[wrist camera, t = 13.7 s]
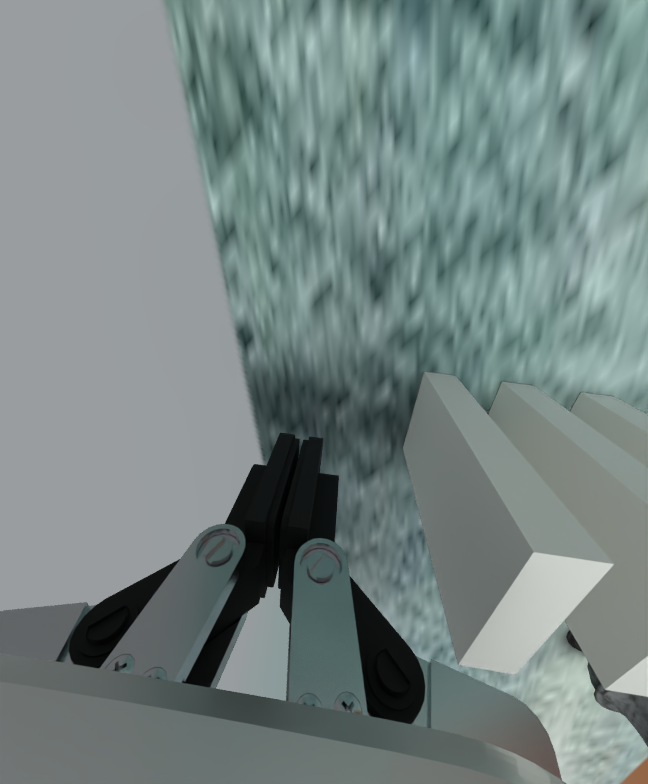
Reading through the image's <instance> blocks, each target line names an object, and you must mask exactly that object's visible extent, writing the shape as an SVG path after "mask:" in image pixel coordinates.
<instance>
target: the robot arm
mask: <svg viewBox="0 0 648 784" xmlns="http://www.w3.org/2000/svg"><path fill="white" fill-rule="evenodd" d="M299 442H300V440H299V439H295V435H294V434H286V433H280V435H279V437H278V439H277V442H276V444H275V447H274V449H273V451H272V454H271V456H270V459H269V461H268V464H267V466H265V465H258V464H254V465H253V467H252V468H251V470H250V473H249V475H248V477H247V479H246V481H245V483H244V485H243V487H242V489H241V491H240V493H239V496H238V498H237V500H236V502H235V504H234V506H233V508H232V510H231V512H230V514H229V516H228V518H227V520H226V523H225V524H220V525H215V526H212V527H210V528H208V529H206V530H205V531H203V532H202V533H200V534H199V536H198V537H197V538H196V539H195V540H194V541H193V543H192V544H191V545H190V547H189V548H188V549H187V551H186V552H185V553H184V555H183V556H182V557H181V559H179V560H178V561H176V562H174V563H172V564H170V565H168V566H166V567H164V568H163V569H161V570H159V571H157V572H155V573H153V574H151V575H150V576H148V577H146V578H144V579H142V580H140V581H138V582H136V583H134V584H133V585H131V586H129V587H127V588H125V589H123V590H121V591H119V592H118V593H116V594H114V595H112V596H110V597H108V598H106V599H105V600H103V601H102V602H100V603H99V604H97V605H94V606H89V605H88V603H87V602H85V603H76V604H65V605H55V606H44V607H34V608H25V609H15V610H4V611H0V784H566V783H565V782H563V781H562V779H561V775H560V771H559V767H558V763H557V759H556V755H555V751H554V748H553V746H552V743H551V741H550V738H549V735H548V733H547V731H546V730H545V728H544V727H543V725H542V723H541V722H540V720H539V719H538V717H537V716H536V715H535V714H534V713H533V712H532V711H531V710H530V709H529V708H528V706H527V705H526V704H524V703H523V702H521V701H520V700H518V699H517V698H515V697H514V696H511V695H509V694H507V693H505V692H503V691H500V690H498V689H496V688H494V687H492V686H489V685H487V684H485V683H483V682H481V681H478V680H476V679H474V678H472V677H470V676H467V675H465V674H463V673H461V672H459V671H456V670H454V669H452V668H450V667H448V666H445V665H443V664H441V663H439V662H437V661H434V660H432V659H431V661H430V662H427V661H425V660H423V659H421V658H419V657H416V656H415V654H414V653H413V651H412V650H411V648H410V647H409V646H408V645H407V644H406V642H405V641H404V640H403V639H402V638H401V636H400V635H399V634H398V633H397V632H396V631H395V629H394V628H393V627H392V626H391V625H390V623H389V622H388V621H387V620H386V619H385V617H384V616H383V615H382V614H381V613H380V611H379V610H378V609H377V608H376V607H375V605H374V604H373V603H372V602H371V601H370V600H369V598H368V597H367V596H366V595H365V594H364V592H363V591H362V590H361V589H360V588H359V586H358V585H357V584H356V583H355V582H354V580H353V579H352V578H351V577H350V576H349V568H348V562H347V558H346V555H345V553H344V552H343V550H342V549H341V547H340V546H338V545H337V544H336V543H335V527H336V512H337V497H338V482H339V476H337V475H329V474H322V473H320V465H321V456H322V447H323V438H316V437H309V440H303V443H302V447H301V451H300V454H299ZM298 457H299V458H298ZM278 567H279V579H278V588H279V589H281V594H280V608H281V609H282V611H283V613H284V615H285V616H286V618H287V620H288V622H289V623H290V627H289V649H288V672H287V692H286V693H287V695H286V701H282V700H277V699H271V698H266V697H260V696H254V695H249V694H242V693H237V692H231V691H226V690H220V689H216V687H217V684H218V682H219V680H220V678H221V675H222V673H223V671H224V668H225V666H226V664H227V661H228V659H229V657H230V654H231V652H232V650H233V648H234V645H235V643H236V641H237V638H238V636H239V634H240V631H241V629H242V627H243V625H244V622H245V620H246V617H247V613H248V611H249V610H250V609H252V608H253V607H254V606H256V605H257V604H258V603H259V600H260V597H261V598H265V594H266V590H267V587H273V586H274V583H275V579H276V574H277V571H278Z"/></svg>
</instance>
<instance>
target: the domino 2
mask: <svg viewBox="0 0 648 784" xmlns="http://www.w3.org/2000/svg"><path fill="white" fill-rule="evenodd" d="M488 415H489V416H490V418H491V419H492V420H493V421H494V422H495V423H496V425H497V426H498V427H499V428H500V429H501V431H502V432H503V433H504V434H505V435H506V436H507V438H508V439H509V440H510V441H511V442H512V444H513V445H514V446H515V447H516V448H517V450H518V451H519V452H520V453H521V454H522V455H523V457H524V458H525V459H526V460H527V461H528V463H529V464H530V465H531V466H532V467H533V468H534V470H535V471H536V472H537V473H538V474H539V476H540V477H541V478H542V479H543V480H544V482H545V483H546V484H547V485H548V486H549V487H550V489H551V490H552V491H553V492H554V493H555V495H556V496H557V497H558V498H559V499H560V501H561V502H562V503H563V504H564V505H565V506H566V508H567V509H568V510H569V511H570V512H571V514H572V515H573V516H574V517H575V518H576V519H577V521H578V522H579V523H580V524H581V525H582V527H583V528H584V529H585V530H586V531H587V533H588V534H589V535H590V536H591V537H592V538H593V540H594V541H595V542H596V543H597V544H598V546H599V547H600V548H601V549H602V550H603V551H604V553H605V554H606V555H607V556H608V557H609V559H610V560H611V561H612V562H613V563H614V565H613V566H612V567H611V568H610V570H609V571H608V572H607V573H606V574H605V575H604V576H603V577H602V578H601V580H600V581H599V582H598V583H597V584H596V585H595V586H594V587H593V589H592V590H591V591H590V592H589V593H588V594H587V595H586V596H585V597H584V599H583V600H582V601H581V602H580V603H579V604H578V605H577V606H576V608H575V609H574V610H573V611H572V612H571V613H570V614H569V615H568V616H567V618H566V619H565V622H566V624H567V625H568V627H569V629H570V631H571V632H572V634H573V636H574V638H575V639H576V641H577V643H578V644H579V646H580V648H581V650H582V651H583V653H584V655H585V656H586V658H587V660H588V662H589V663H590V665H591V667H592V669H593V670H594V672H595V674H596V675H597V677H598V679H599V681H600V682H601V684H602V686H603V687H604V689H605V690H610V691H616V692H622V693H628V694H634V695H640V696H646V697H648V468H647V467H646V466H645V465H643V464H642V463H640V462H639V461H638V460H636V459H635V458H634V457H632V456H631V455H629V454H628V453H627V452H625V451H624V450H622V449H621V448H620V447H618V446H617V445H615V444H614V443H613V442H611V441H610V440H609V439H607V438H606V437H604V436H603V435H602V434H600V433H599V432H597V431H596V430H595V429H593V428H592V427H590V426H589V425H588V424H586V423H585V422H584V421H582V420H581V419H579V418H578V417H577V416H575V415H574V414H572V413H571V412H570V411H568V410H567V409H565V408H564V407H563V406H561V405H560V404H558V403H557V402H556V401H554V400H553V399H552V398H550V397H549V396H547V395H546V394H545V393H543V392H542V391H540V390H539V389H538V388H536V387H535V386H533V385H525V384H517V383H510V382H502V383H501V385H500V388H499V390H498V392H497V395H496V397H495V400H494V402H493V404H492V407H491V409H490V411H489V414H488Z"/></svg>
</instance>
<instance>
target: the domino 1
mask: <svg viewBox="0 0 648 784" xmlns="http://www.w3.org/2000/svg"><path fill="white" fill-rule="evenodd" d="M403 451H404V455H405V459H406V463H407V467H408V471H409V475H410V479H411V483H412V486H413V490H414V494H415V498H416V502H417V506H418V510H419V514H420V518H421V522H422V526H423V530H424V534H425V537H426V541H427V545H428V549H429V553H430V557H431V561H432V565H433V569H434V573H435V577H436V581H437V584H438V588H439V592H440V596H441V600H442V604H443V608H444V612H445V616H446V620H447V624H448V628H449V632H450V635H451V639H452V643H453V647H454V651H455V655H456V659H457V663H458V665H461V666H467V667H473V668H479V669H485V670H491V671H497V672H503V673H509V674H515V675H516V673H517V672H518V671H519V670H520V669H521V668H522V667H523V666H524V664H525V663H526V662H527V661H528V660H529V659H530V658H531V657H532V656H533V654H534V653H535V652H536V651H537V650H538V649H539V648H540V647H541V645H542V644H543V643H544V642H545V641H546V640H547V639H548V638H549V637H550V635H551V634H552V633H553V632H554V631H555V630H556V629H557V628H558V627H559V625H560V624H561V623H562V622H563V621H564V620H565V619H566V618H567V616H568V615H569V614H570V613H571V612H572V611H573V610H574V609H575V608H576V606H577V605H578V604H579V603H580V602H581V601H582V600H583V599H584V597H585V596H586V595H587V594H588V593H589V592H590V591H591V590H592V589H593V587H594V586H595V585H596V584H597V583H598V582H599V581H600V580H601V578H602V577H603V576H604V575H605V574H606V573H607V572H608V571H609V570H610V568H611V567H612V566H613V565H614V563H613V562H612V561H611V560H610V559H609V557H608V556H607V555H606V554H605V553H604V551H603V550H602V549H601V548H600V547H599V546H598V544H597V543H596V542H595V541H594V540H593V538H592V537H591V536H590V535H589V534H588V533H587V531H586V530H585V529H584V528H583V527H582V525H581V524H580V523H579V522H578V521H577V519H576V518H575V517H574V516H573V515H572V514H571V512H570V511H569V510H568V509H567V508H566V506H565V505H564V504H563V503H562V502H561V501H560V499H559V498H558V497H557V496H556V495H555V493H554V492H553V491H552V490H551V489H550V487H549V486H548V485H547V484H546V483H545V482H544V480H543V479H542V478H541V477H540V476H539V474H538V473H537V472H536V471H535V470H534V468H533V467H532V466H531V465H530V464H529V463H528V461H527V460H526V459H525V458H524V457H523V455H522V454H521V453H520V452H519V451H518V450H517V448H516V447H515V446H514V445H513V444H512V442H511V441H510V440H509V439H508V438H507V436H506V435H505V434H504V433H503V432H502V431H501V429H500V428H499V427H498V426H497V425H496V423H495V422H494V421H493V420H492V419H491V418H490V416H489V415H488V414H487V413H486V412H485V410H484V409H483V408H482V407H481V406H480V404H479V403H478V402H477V401H476V400H475V399H474V397H473V396H472V395H471V394H470V393H469V391H468V390H467V389H466V388H465V387H464V385H463V384H462V383H461V382H460V381H459V380H458V378H457V377H456V376H455V375H447V374H439V373H431V372H424V374H423V378H422V381H421V385H420V388H419V392H418V396H417V399H416V403H415V406H414V410H413V414H412V417H411V421H410V424H409V428H408V432H407V435H406V439H405V442H404V446H403Z"/></svg>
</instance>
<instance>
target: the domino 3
mask: <svg viewBox="0 0 648 784" xmlns="http://www.w3.org/2000/svg"><path fill="white" fill-rule="evenodd" d="M570 412H571V413H572V414H574V415H575V416H577V417H578V418H579V419H581V420H582V421H584V422H585V423H586V424H588V425H589V426H590V427H592V428H593V429H595V430H596V431H597V432H599V433H600V434H602V435H603V436H604V437H606V438H607V439H609V440H610V441H611V442H613V443H614V444H615V445H617V446H618V447H620V448H621V449H622V450H624V451H625V452H627V453H628V454H629V455H631V456H632V457H634V458H635V459H636V460H638V461H639V462H640V463H642V464H643V465H645V466H646V467H647V468H648V415H647V414H645V413H643V412H641V411H639V410H637V409H636V408H634V407H632V406H630V405H628V404H626V403H625V402H623V401H621V400H619V399H617V398H615V397H613V396H607V395H599V394H590V393H582V392H581V393H580V395H579V396H578V398H577V400H576V402H575V403H574V405H573V407H572V409H571V411H570Z"/></svg>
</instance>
